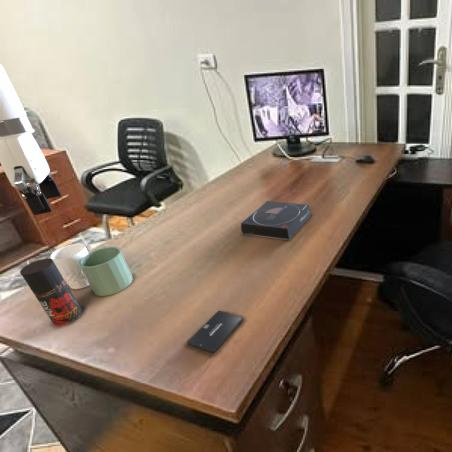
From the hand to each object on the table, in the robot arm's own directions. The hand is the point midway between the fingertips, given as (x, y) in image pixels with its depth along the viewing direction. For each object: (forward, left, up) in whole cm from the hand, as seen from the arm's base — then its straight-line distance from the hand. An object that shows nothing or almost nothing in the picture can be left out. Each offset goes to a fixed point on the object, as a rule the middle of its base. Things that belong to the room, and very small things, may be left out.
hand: (48, 204), depth 79 cm
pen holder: (+4, +2, -26) cm, 26 cm away
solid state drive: (+27, -30, -26) cm, 48 cm away
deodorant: (-5, -7, -26) cm, 27 cm away
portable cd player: (+52, +10, -26) cm, 59 cm away
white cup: (-4, +8, -26) cm, 27 cm away
